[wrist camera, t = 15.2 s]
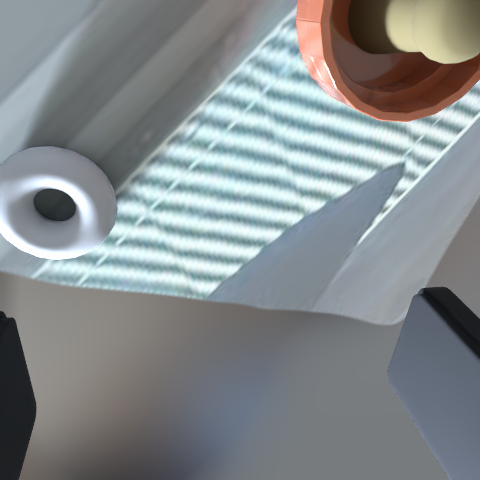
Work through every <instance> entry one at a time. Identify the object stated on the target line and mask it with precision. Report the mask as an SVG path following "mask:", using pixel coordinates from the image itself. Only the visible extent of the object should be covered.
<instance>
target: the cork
mask: <svg viewBox="0 0 480 480" xmlns="http://www.w3.org/2000/svg"><path fill="white" fill-rule="evenodd" d="M348 25H349V31H350V34H351V36H352V38H353V40H354V42H355V44H356V45H357V46H358V47H359V48H361V49H362V50H363V51H365V52H368V53H370V54H392V53H407V52H422V53H423V54H424V55H425V56H426V57H427V58H429V59H431V60H434V61H437V62H439V63H443V64H449V63H460V62H463V61H466V60H468V59H471V58H474V57H475V56H476V55H478V54H479V53H480V0H352V1H351V3H350V6H349V13H348Z"/></svg>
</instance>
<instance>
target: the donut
mask: <svg viewBox="0 0 480 480" xmlns="http://www.w3.org/2000/svg"><path fill="white" fill-rule="evenodd" d="M44 189H57V190H61V191H63V192H65V193H67V194H68V195H69V196H70V197H71V198H72V199H73V201H74V203H75V205H76V212H75V214H74V216H73V217H71V218H70V219H68V220H65V221H53V220H50V219H48V218H45V217H44V216H42V215H41V214H40V213H39V212H38V211H37V209H36V208H35V204H34V197H35V196H36V194H37V193H38V192H39V191H41V190H44ZM117 209H118V208H117V203H116V197H115V192H114V189H113V187H112V185H111V183H110V182H109V180H108V178H107V176H106V174H105V173H104V172H103V171H102V170H101V169H100V168H99V167H97V166H96V165H95V164H94V163H93V162H92V161H91V160H89V159H88V158H86V157H84V156H82V155H80V154H78V153H76V152H74V151H72V150H68V149H63V148H59V147H54V146H44V147H31V148H28V149H26V150H23V151H21V152H18V153H16V154H13V155H11V156H10V157H8V158H7V159H6V160H5V161H4V162H3V163H2V164H1V165H0V232H1V233H2V235H3V236H4V237H5V238H6V239H7V240H8V241H10V242H11V243H12V244H14V245H15V246H16V247H18V248H19V249H21V250H23V251H25V252H28V253H30V254H33V255H35V256H38V257H43V258H50V259H66V258H75V257H77V256H80V255H83V254H85V253H88V252H90V251H93V250H94V249H95V248H96V247H97V246H99V245H100V244H101V243H102V242H104V241H105V240H106V238H107V236H108V235H109V233H110V231H111V230H112V228H113V227H114V225H115V220H116V214H117Z"/></svg>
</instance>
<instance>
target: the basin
mask: <svg viewBox="0 0 480 480" xmlns="http://www.w3.org/2000/svg"><path fill="white" fill-rule="evenodd" d="M351 1H352V0H298V8H297V15H296V26H297V34H298V41H299V49H300V53H301V55H302V57H303V59H304V62H305V64H306V66H307V68H308V70H309V73H310V75H311V77H312V78H313V79H314V80H315V81H316V82H317V83H318V84H319V85H320V86H321V87H322V88H323V89H324V90H325V91H326V92H327V94H328V95H330V96H331V97H333V98H335V99H337V100H339V101H341V102H343V103H344V104H346V105H348V106H350V107H352V108H354V109H356V110H358V111H360V112H362V113H364V114H367V115H369V116H371V117H373V118H375V119H378V120H381V121H399V122H409V121H412V120H416V119H419V118H423V117H426V116H430V115H434V114H436V113H438V112H439V111H441V110H442V109H444V108H446V107H447V106H449V105H451V104H452V103H454V102H456V101H457V100H459V99H460V98H462V97H463V96H464V95H465V94H466V93H467V92H468V91H469V90H470V89H471V88H472V87H473V86H474V85H475V84H476V83H477V82H478V81H479V80H480V53H479V54H478V55H476V56H475V57H474V58H471V59H468V60H466V61H463V62H460V63H449V64H443V63H439V62H437V61H434V60H431V59H429V58H427V57H426V56H425V55H424V54H423V53H422V52H407V53H392V54H370V53H368V52H365V51H363V50H362V49H361V48H359V47H358V46H357V45H356V44H355V42H354V40H353V38H352V36H351V34H350V31H349V25H348V13H349V6H350V3H351Z"/></svg>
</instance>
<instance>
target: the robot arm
mask: <svg viewBox="0 0 480 480" xmlns="http://www.w3.org/2000/svg"><path fill="white" fill-rule="evenodd" d="M388 378H389V382H390V384H391V385H392V387H393V389H394V390H395V392H396V394H397V395H398V397H399V398H400V400H401V401H402V403H403V405H404V406H405V408H406V410H407V411H408V413H409V415H410V416H411V418H412V419H413V421H414V422H415V424H416V426H417V427H418V429H419V431H420V432H421V434H422V435H423V437H424V439H425V440H426V442H427V443H428V445H429V447H430V448H431V450H432V452H433V453H434V455H435V456H436V458H437V460H438V461H439V463H440V464H441V466H442V468H443V469H444V471H445V473H446V474H447V476H448V477H449V479H450V480H480V319H479V318H478V317H477V316H476V315H475V314H474V313H473V312H472V311H471V310H470V309H469V308H468V307H467V306H466V305H465V304H464V303H463V302H462V301H461V300H460V299H459V298H458V297H457V296H456V295H455V294H453V292H451V290H449V289H448V288H446V287H432V288H422V289H421V290H420V291H419V292H418V294H416V295H415V296H414V297H413V299H412V301H411V304H410V307H409V310H408V313H407V316H406V318H405V321H404V324H403V327H402V330H401V333H400V336H399V338H398V341H397V344H396V347H395V350H394V353H393V356H392V358H391V361H390V364H389V367H388ZM35 418H36V401H35V397H34V393H33V389H32V385H31V381H30V377H29V373H28V369H27V365H26V361H25V357H24V353H23V349H22V345H21V341H20V337H19V333H18V330H17V325H16V322H15V319H14V318H6V315H5V314H4V312H2V311H0V480H19V476H20V473H21V469H22V466H23V462H24V458H25V455H26V451H27V447H28V444H29V440H30V437H31V433H32V430H33V426H34V422H35Z"/></svg>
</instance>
